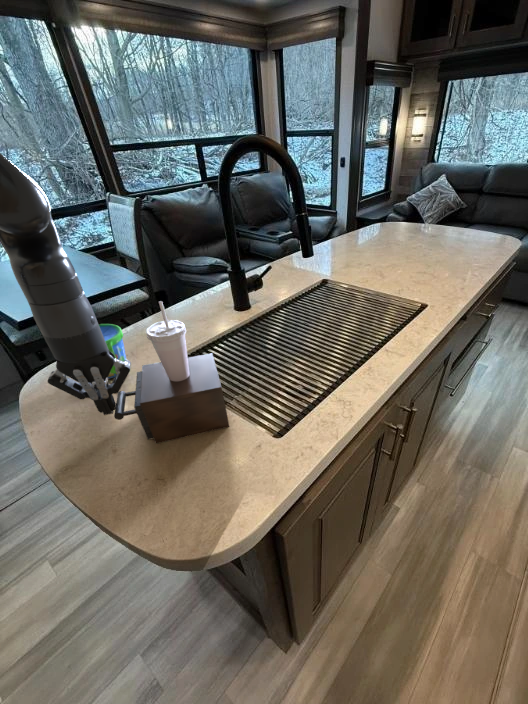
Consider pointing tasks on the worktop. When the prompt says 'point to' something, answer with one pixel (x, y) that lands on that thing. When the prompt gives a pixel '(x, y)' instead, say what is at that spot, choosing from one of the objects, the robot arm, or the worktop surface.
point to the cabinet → (183, 400)
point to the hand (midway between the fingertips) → (109, 411)
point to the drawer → (138, 410)
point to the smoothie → (170, 346)
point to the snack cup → (113, 343)
